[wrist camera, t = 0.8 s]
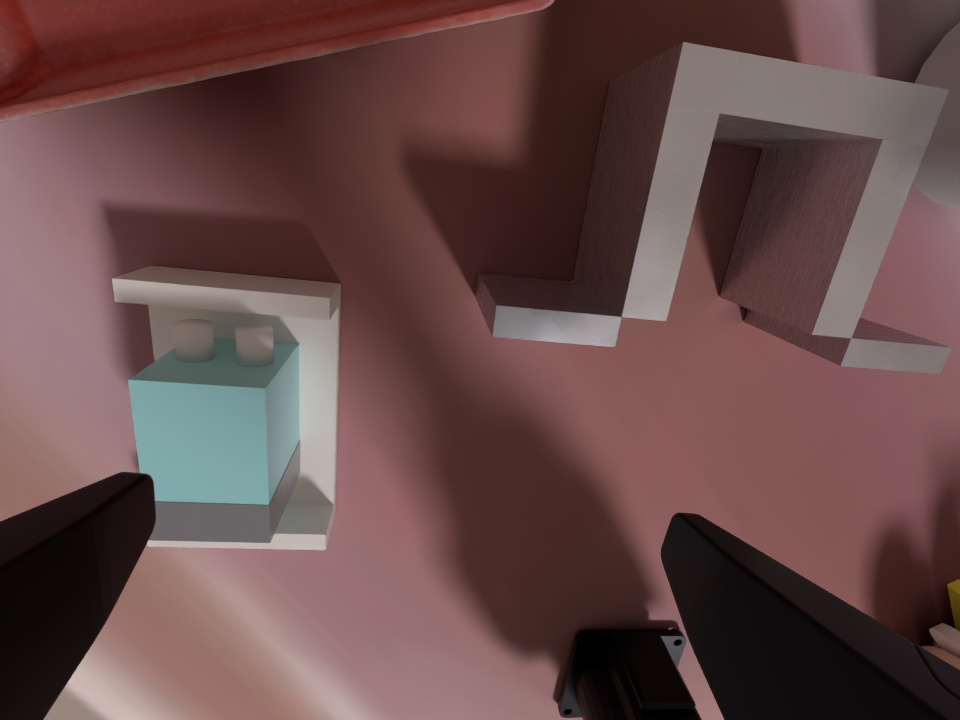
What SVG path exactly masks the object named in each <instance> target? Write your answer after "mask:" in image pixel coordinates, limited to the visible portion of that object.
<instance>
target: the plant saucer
mask: <svg viewBox="0 0 960 720" xmlns="http://www.w3.org/2000/svg"><path fill="white" fill-rule="evenodd" d="M554 1H555V0H0V122H6V121H12V120H17V119H22V118H27V117H31V116H35V115H39V114H43V113H49V112H54V111H59V110H64V109H69V108H74V107H79V106H83V105H88V104H92V103H97V102H101V101H106V100H111V99H116V98H120V97H125V96H130V95H135V94H139V93H144V92H149V91H153V90H158V89H163V88H168V87H172V86H178V85H184V84H188V83H193V82H198V81H203V80H207V79H210V78H214V77H220V76H225V75H230V74H234V73H239V72H244V71H249V70H254V69H259V68H264V67H269V66H273V65H278V64H283V63H287V62H292V61H299V60H305V59H310V58H315V57H319V56H324V55H328V54H332V53H338V52H343V51H347V50H351V49H355V48H361V47H367V46H372V45H376V44H380V43H384V42H388V41H392V40H397V39H402V38H410V37H415V36H419V35H423V34H428V33H433V32H438V31H443V30H448V29H453V28H458V27H463V26H467V25H472V24H477V23H482V22H488V21H494V20H499V19H503V18H506V17H511V16H517V15H522V14H526V13H530V12H534V11H539V10H542V9H544V8H546V7H548V6H550V5H551V4H552V3H553V2H554Z"/></svg>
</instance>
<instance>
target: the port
mask: <svg viewBox="0 0 960 720" xmlns="http://www.w3.org/2000/svg"><path fill="white" fill-rule="evenodd" d="M948 92H949V90H948V89H943V88H937V87H932V86H926V85H920V84H915V83H909V82H904V81H898V80H893V79H887V78H881V77H876V76H870V75H865V74H859V73H854V72H848V71H842V70H837V69H831V68H826V67H820V66H815V65H809V64H804V63H798V62H792V61H787V60H781V59H776V58H770V57H765V56H759V55H753V54H748V53H742V52H737V51H731V50H726V49H720V48H714V47H709V46H703V45H698V44H692V43H687V42H682V43H680V44H678V45H676V46H675V47H673V48H671V49H669V50H667V51H665V52H663V53H661V54H659V55H657V56H655V57H653V58H651V59H649V60H648V61H646V62H644V63H642V64H640V65H638V66H636V67H634V68H632V69H630V70H628V71H626V72H624V73H622V74H620V75H619V76H617V77H615V78H613V79H611V80H610V81H609V86H608V92H607V97H606V102H605V108H604V113H603V119H602V124H601V130H600V135H599V140H598V146H597V151H596V157H595V162H594V167H593V173H592V178H591V184H590V189H589V194H588V200H587V205H586V211H585V216H584V221H583V227H582V232H581V238H580V243H579V248H578V254H577V259H576V265H575V270H574V275H573V281H572V282H569V281H559V280H549V279H539V278H529V277H520V276H510V275H500V274H490V273H480V272H478V276H477V284H476V293H475V297H476V300H477V302H478V304H479V307H480V309H481V311H482V314H483V316H484V318H485V321H486V323H487V326H488V328H489V330H490V333H491V335H492V337H501V338H513V339H525V340H537V341H549V342H561V343H573V344H585V345H597V346H609V347H615V344H616V340H617V335H618V331H619V326H620V322H621V317H627V318H638V319H649V320H659V321H666V320H667V316H668V312H669V308H670V304H671V300H672V297H673V293H674V289H675V285H676V281H677V277H678V273H679V269H680V265H681V262H682V258H683V254H684V250H685V246H686V242H687V238H688V234H689V230H690V227H691V223H692V219H693V215H694V211H695V207H696V203H697V199H698V195H699V192H700V188H701V184H702V180H703V176H704V172H705V168H706V164H707V160H708V157H709V153H710V149H711V145H712V142H719V143H726V144H732V145H739V146H745V147H752V148H759V149H762V151H761V155H760V158H759V162H758V165H757V169H756V172H755V176H754V179H753V183H752V186H751V189H750V193H749V196H748V200H747V203H746V207H745V210H744V214H743V217H742V220H741V224H740V227H739V231H738V234H737V238H736V241H735V245H734V248H733V251H732V255H731V258H730V262H729V265H728V269H727V272H726V276H725V279H724V283H723V286H722V289H721V293H720V296H719V297H721V298H723V299H726V300H728V301H731V302H733V303H736V304H738V305H740V306H743V307H745V308H748V310H747V313H746V316H745V319H744V322H745V323H748V324H750V325H752V326H754V327H756V328H758V329H761V330H763V331H765V332H767V333H769V334H772V335H774V336H776V337H778V338H780V339H783V340H785V341H787V342H789V343H791V344H794V345H796V346H798V347H800V348H802V349H805V350H807V351H809V352H811V353H813V354H816V355H818V356H820V357H822V358H824V359H827V360H829V361H831V362H833V363H835V364H838V365H840V366H848V367H860V368H872V369H884V370H896V371H908V372H920V373H932V374H940V373H941V371H942V368H943V366H944V364H945V362H946V360H947V358H948V356H949V354H950V351H951V349H952V347H949V346H946V345H942V344H939V343H936V342H933V341H930V340H927V339H924V338H921V337H918V336H915V335H912V334H909V333H906V332H902V331H899V330H896V329H893V328H890V327H887V326H884V325H881V324H878V323H875V322H872V321H869V320H865V319H862V318H860V315H861V313H862V310H863V308H864V305H865V303H866V300H867V297H868V295H869V292H870V290H871V287H872V285H873V282H874V280H875V277H876V275H877V272H878V270H879V267H880V265H881V262H882V259H883V257H884V254H885V252H886V249H887V247H888V244H889V242H890V239H891V237H892V234H893V232H894V229H895V226H896V224H897V221H898V219H899V216H900V214H901V211H902V209H903V206H904V204H905V201H906V199H907V196H908V193H909V191H910V188H911V186H912V183H913V181H914V178H915V176H916V173H917V171H918V168H919V166H920V163H921V160H922V158H923V155H924V153H925V150H926V148H927V145H928V143H929V140H930V138H931V135H932V133H933V130H934V127H935V125H936V122H937V120H938V117H939V115H940V112H941V110H942V107H943V105H944V102H945V100H946V97H947V94H948Z"/></svg>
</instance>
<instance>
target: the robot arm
mask: <svg viewBox="0 0 960 720" xmlns="http://www.w3.org/2000/svg"><path fill="white" fill-rule="evenodd" d="M155 523H156V507H155V493H154V482H153V479H152V477H151V476H150V475H149V474H146V473H132V472H120V473H118V474H115V475H113V476H110V477H108V478H105V479H103V480H100V481H98V482H96V483H93V484H91V485H88V486H86V487H83V488H81V489H78V490H76V491H74V492H71V493H69V494H66V495H64V496H61V497H59V498H57V499H54V500H52V501H49V502H47V503H44V504H42V505H39V506H37V507H35V508H32V509H30V510H27V511H25V512H22V513H20V514H17V515H15V516H13V517H10V518H8V519H5V520H3V521H0V720H43V719H44V718H45V716H46V715H47V713H48V712H49V710H50V709H51V707H52V705H53V704H54V702H55V701H56V699H57V698H58V696H59V695H60V693H61V692H62V690H63V689H64V687H65V685H66V684H67V682H68V681H69V679H70V678H71V676H72V675H73V673H74V672H75V670H76V669H77V667H78V665H79V664H80V662H81V661H82V659H83V658H84V656H85V655H86V653H87V652H88V650H89V649H90V647H91V645H92V644H93V642H94V641H95V639H96V638H97V636H98V634H99V633H100V631H101V630H102V628H103V626H104V625H105V623H106V621H107V619H108V617H109V616H110V614H111V612H112V610H113V608H114V606H115V604H116V603H117V601H118V599H119V597H120V595H121V593H122V591H123V589H124V587H125V585H126V583H127V581H128V579H129V577H130V575H131V573H132V571H133V569H134V567H135V566H136V564H137V562H138V560H139V558H140V556H141V554H142V552H143V550H144V548H145V546H146V544H147V542H148V540H149V538H150V536H151V534H152V532H153V530H154V527H155ZM661 559H662V563H663V566H664V569H665V572H666V575H667V578H668V581H669V584H670V587H671V590H672V593H673V596H674V598H675V601H676V604H677V607H678V610H679V613H680V616H681V619H682V622H683V625H684V628H685V630H686V633H687V636H688V638H689V641H690V643H691V646H692V648H693V651H694V653H695V655H696V658H697V660H698V662H699V664H700V666H701V669H702V671H703V673H704V675H705V678H706V680H707V682H708V684H709V686H710V689H711V691H712V693H713V695H714V698H715V700H716V702H717V704H718V706H719V709H720V711H721V713H722V715H723V718H724V720H960V670H959V669H957V668H956V667H954V666H952V665H951V664H949V663H947V662H945V661H944V660H942V659H940V658H939V657H937V656H935V655H934V654H932V653H930V652H929V651H927V650H925V649H924V648H922V647H920V646H919V645H913V644H912V642H911V641H910V640H908V639H907V638H905V637H903V636H902V635H900V634H898V633H897V632H895V631H893V630H892V629H890V628H888V627H886V626H885V625H883V624H881V623H880V622H878V621H876V620H875V619H873V618H871V617H870V616H868V615H866V614H865V613H863V612H861V611H860V610H858V609H856V608H855V607H853V606H851V605H850V604H848V603H846V602H845V601H843V600H841V599H840V598H838V597H836V596H834V595H833V594H831V593H829V592H828V591H826V590H824V589H823V588H821V587H819V586H818V585H816V584H814V583H813V582H811V581H809V580H808V579H806V578H804V577H803V576H801V575H799V574H798V573H796V572H794V571H793V570H791V569H789V568H788V567H786V566H784V565H783V564H781V563H779V562H777V561H776V560H774V559H772V558H771V557H769V556H767V555H766V554H764V553H762V552H761V551H759V550H757V549H756V548H754V547H752V546H751V545H749V544H747V543H746V542H744V541H742V540H741V539H739V538H737V537H736V536H734V535H732V534H731V533H729V532H727V531H725V530H724V529H722V528H720V527H719V526H717V525H715V524H714V523H712V522H710V521H709V520H707V519H705V518H704V517H702V516H700V515H698V514H693V513H676V514H675V515H674V516H673V517H672V519H671V521H670V524H669V527H668V530H667V533H666V536H665V539H664V542H663V544H662V548H661ZM685 644H686V639H685V637H684V635H683V633H682V632H681V631H679V630H584V631H580V632H578V633H577V634H576V636H575V639H574V643H573V647H572V651H571V655H570V659H569V663H568V667H567V671H566V675H565V679H564V683H563V687H562V691H561V695H560V699H559V703H558V709H559V713H560V715H561V716H562V717H565V718H574V717H582V718H583V720H702V719H701V717H700V715H699V713H698V711H697V710H696V708H695V702H694V700H693V698H692V696H691V694H690V692H689V690H688V688H687V686H686V684H685V682H684V680H683V678H682V676H681V674H680V672H679V671H678V669H677V667H678V664H679V661H680V658H681V655H682V652H683V650H684V647H685Z"/></svg>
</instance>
